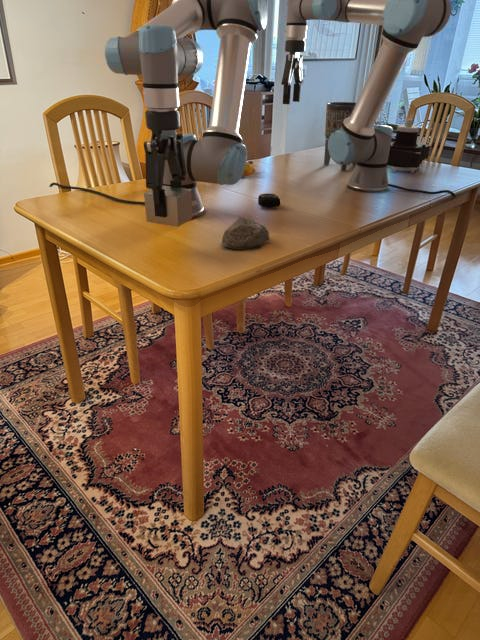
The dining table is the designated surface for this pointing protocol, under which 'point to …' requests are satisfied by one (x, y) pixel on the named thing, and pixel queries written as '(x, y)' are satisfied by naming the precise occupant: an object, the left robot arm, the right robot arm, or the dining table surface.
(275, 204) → the tape measure
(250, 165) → the toy
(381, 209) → the dining table surface
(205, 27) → the left robot arm
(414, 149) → the mechanical component
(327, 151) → the planter
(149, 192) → the block
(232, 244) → the rock
